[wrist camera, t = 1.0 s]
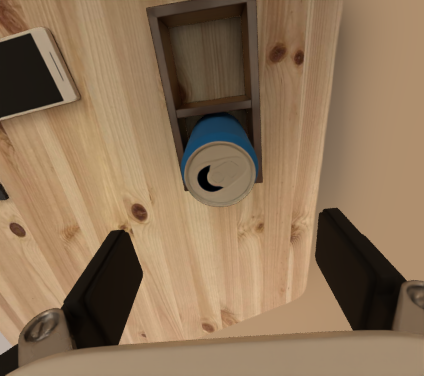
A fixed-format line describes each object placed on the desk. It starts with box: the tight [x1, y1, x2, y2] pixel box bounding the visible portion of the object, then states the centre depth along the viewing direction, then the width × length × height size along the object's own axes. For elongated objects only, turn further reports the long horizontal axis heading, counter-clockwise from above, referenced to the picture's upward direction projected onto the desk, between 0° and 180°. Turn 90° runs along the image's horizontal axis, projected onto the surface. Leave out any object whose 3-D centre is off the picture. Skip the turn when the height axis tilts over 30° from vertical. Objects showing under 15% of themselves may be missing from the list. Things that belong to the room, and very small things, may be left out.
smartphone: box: [0, 27, 80, 121], centre depth 25 cm, size 7×16×1 cm, turn 103°
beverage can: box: [181, 112, 259, 207], centre depth 23 cm, size 6×6×12 cm
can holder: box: [146, 0, 263, 191], centre depth 24 cm, size 17×9×5 cm, turn 8°
